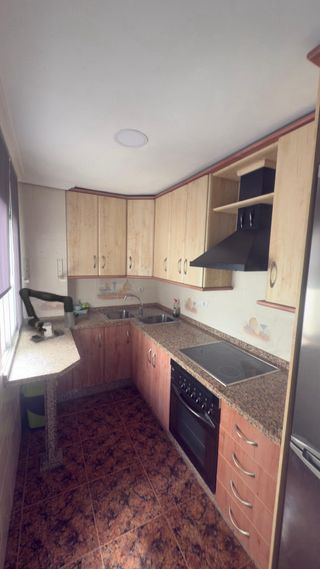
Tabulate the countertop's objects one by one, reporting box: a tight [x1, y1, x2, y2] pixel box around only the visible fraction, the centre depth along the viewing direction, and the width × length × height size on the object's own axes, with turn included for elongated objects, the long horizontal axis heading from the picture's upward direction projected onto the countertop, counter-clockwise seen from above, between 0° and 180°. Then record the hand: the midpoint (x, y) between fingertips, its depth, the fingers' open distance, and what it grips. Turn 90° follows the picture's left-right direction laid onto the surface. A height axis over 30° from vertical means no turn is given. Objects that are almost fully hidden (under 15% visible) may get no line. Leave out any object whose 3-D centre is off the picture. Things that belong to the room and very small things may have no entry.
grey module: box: [43, 322, 53, 337], centre depth 222 cm, size 5×5×12 cm
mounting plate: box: [29, 328, 67, 346], centre depth 223 cm, size 28×14×4 cm, turn 140°
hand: (49, 329), depth 220 cm, fingers closed on grey module, 5 cm apart
